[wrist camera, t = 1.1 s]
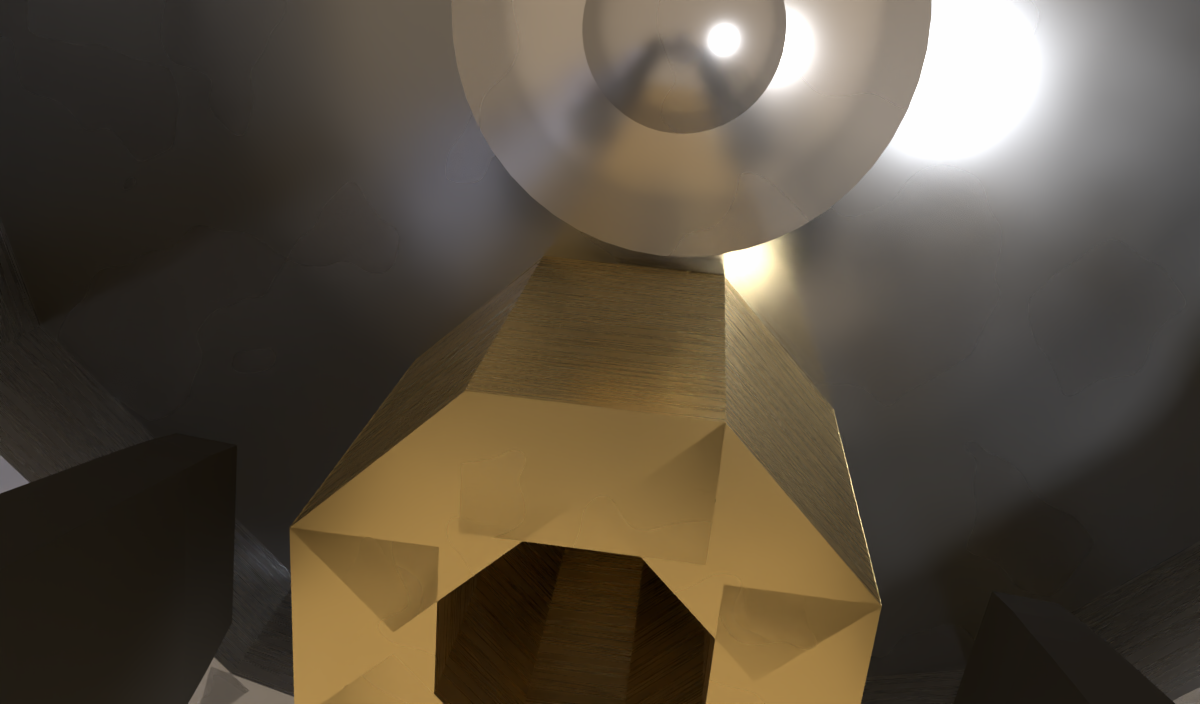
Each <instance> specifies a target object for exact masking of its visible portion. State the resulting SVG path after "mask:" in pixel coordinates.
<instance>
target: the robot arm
mask: <svg viewBox="0 0 1200 704" xmlns="http://www.w3.org/2000/svg"><path fill="white" fill-rule="evenodd" d="M236 469H237V445H235V444H230V443H225V442H220V441H214V440H209V439H204V438H199V437H194V436H189V435H183V434H178V433H175V434H171V435H167V436H163V437H159V438H155V439H152V440H148V441H145V442H142V443H139V444H136V445H133V446H130V447H127V448H124V449H121V450H118V451H115V452H113V453H110V454H107V455H104V456H101V457H99V458H96V459H93V460H90V461H88V462H85V463H82V464H80V465H77V466H74V467H71V468H69V469H66V470H63V471H61V472H58V473H55V474H52V475H50V476H47V477H44V478H41V479H39V480H36V481H33V482H30V483H28V484H25V485H22V486H19V487H17V488H14V489H11V490H9V491H6V492H3V493H0V704H188V703H189V701H190V700H191V698H192V696H193V694H194V692H195V691H196V689H197V687H198V685H199V684H200V682H201V680H202V678H203V677H204V675H205V673H206V671H207V669H208V667H209V666H210V664H211V662H212V660H213V658H214V656H215V654H216V652H217V650H218V648H219V646H220V645H221V643H222V641H223V639H224V637H225V635H226V633H227V631H228V629H229V627H230V625H231V624H232V612H233V576H234V540H235V505H236ZM953 704H1175V703H1174V702H1173V701H1172V700H1171V699H1170V698H1168V697H1167V696H1166V695H1165V694H1164V693H1163V692H1162V691H1161V690H1160V689H1158V688H1157V687H1156V686H1155V685H1154V684H1153V683H1152V682H1151V681H1150V680H1148V679H1147V678H1146V677H1145V676H1144V675H1143V674H1142V673H1141V672H1140V671H1138V670H1137V669H1136V668H1135V667H1134V666H1133V665H1132V664H1131V663H1130V662H1128V661H1127V660H1126V659H1125V658H1124V657H1123V656H1122V655H1121V654H1119V653H1118V652H1117V651H1116V650H1115V649H1114V648H1113V647H1111V646H1110V645H1109V644H1108V643H1107V642H1106V641H1105V640H1103V639H1102V638H1101V637H1100V636H1099V635H1098V634H1096V633H1095V632H1094V631H1093V630H1092V629H1091V628H1089V627H1088V626H1087V625H1086V624H1085V623H1083V622H1082V621H1081V620H1080V619H1078V618H1077V617H1076V616H1075V615H1073V614H1072V613H1071V612H1069V611H1068V610H1066V609H1065V608H1064V607H1062V606H1061V605H1060V604H1057V603H1051V602H1046V601H1041V600H1036V599H1031V598H1026V597H1020V596H1015V595H1010V594H1005V593H1000V592H995V591H992V593H991V596H990V599H989V602H988V604H987V607H986V610H985V613H984V616H983V619H982V622H981V625H980V627H979V630H978V633H977V636H976V639H975V642H974V645H973V648H972V651H971V653H970V656H969V659H968V662H967V665H966V668H965V671H964V674H963V676H962V679H961V682H960V685H959V688H958V691H957V694H956V697H955V700H954V702H953Z"/></svg>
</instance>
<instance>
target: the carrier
mask: <svg viewBox="0 0 1200 704" xmlns="http://www.w3.org/2000/svg"><path fill="white" fill-rule="evenodd" d="M543 256H551V257H560V258H569V259H578V260H587V261H596V262H605V263H614V264H623V265H632V266H641V267H650V268H659V269H668V270H677V271H686V272H695V273H704V274H713V275H722V276H725V278H726V279H727V280H728V281H729V282H730V284H731V285H732V286H733V287H734V289H735V290H736V291H737V292H738V293H739V295H740V296H741V297H742V298H743V300H744V301H745V302H746V303H747V304H748V306H749V307H750V308H751V309H752V311H753V312H754V313H755V314H756V315H757V317H758V318H759V319H760V320H761V322H762V323H763V324H764V325H765V326H766V328H767V329H768V330H769V331H770V332H771V334H772V335H773V336H774V337H775V339H776V340H777V341H778V342H779V343H780V345H781V346H782V347H783V348H784V350H785V351H786V352H787V353H788V354H789V356H790V357H791V358H792V359H793V361H794V362H795V363H796V364H797V365H798V367H799V368H800V369H801V370H802V372H803V373H804V374H805V375H806V376H807V378H808V379H809V380H810V381H811V383H812V384H813V385H814V386H815V387H816V389H817V390H818V391H819V392H820V394H821V395H822V396H823V397H824V398H825V400H826V401H827V402H828V403H829V404H830V406H831V407H832V408H833V409H834V413H835V417H836V421H837V425H838V429H839V433H840V437H841V441H842V445H843V449H844V453H845V457H846V462H847V466H848V470H849V474H850V478H851V482H852V486H853V490H854V494H855V498H856V502H857V506H858V510H859V514H860V519H861V523H862V527H863V531H864V535H865V539H866V543H867V547H868V551H869V555H870V559H871V563H872V567H873V572H874V576H875V580H876V584H877V588H878V592H879V596H880V600H881V604H882V607H881V611H880V616H879V621H878V625H877V630H876V635H875V640H874V644H873V649H872V654H871V658H870V663H869V668H868V672H867V677H866V682H865V686H864V691H863V696H862V700H861V704H953V702H954V700H955V697H956V694H957V691H958V688H959V685H960V682H961V679H962V676H963V674H964V671H965V668H966V665H967V662H968V659H969V656H970V653H971V651H972V648H973V645H974V642H975V639H976V636H977V633H978V630H979V627H980V625H981V622H982V619H983V616H984V613H985V610H986V607H987V604H988V602H989V599H990V596H991V593H992V591H995V592H1000V593H1005V594H1010V595H1015V596H1020V597H1026V598H1031V599H1036V600H1041V601H1046V602H1051V603H1057V604H1060V605H1061V606H1062V607H1064V608H1065V609H1066V610H1068V611H1069V612H1071V613H1072V614H1073V615H1075V616H1076V617H1077V618H1078V619H1080V620H1081V621H1082V622H1083V623H1085V624H1086V625H1087V626H1088V627H1089V628H1091V629H1092V630H1093V631H1094V632H1095V633H1096V634H1098V635H1099V636H1100V637H1101V638H1102V639H1103V640H1105V641H1106V642H1107V643H1108V644H1109V645H1110V646H1111V647H1113V648H1114V649H1115V650H1116V651H1117V652H1118V653H1119V654H1121V655H1122V656H1123V657H1124V658H1125V659H1126V660H1127V661H1128V662H1130V663H1131V664H1132V665H1133V666H1134V667H1135V668H1136V669H1137V670H1138V671H1140V672H1141V673H1142V674H1143V675H1144V676H1145V677H1146V678H1147V679H1148V680H1150V681H1151V682H1152V683H1153V684H1154V685H1155V686H1156V687H1157V688H1158V689H1160V690H1161V691H1162V692H1163V693H1164V694H1165V695H1166V696H1167V697H1168V698H1170V699H1171V700H1172V701H1173V702H1174V703H1175V704H1200V0H0V493H3V492H6V491H9V490H11V489H14V488H17V487H19V486H22V485H25V484H28V483H30V482H33V481H36V480H39V479H41V478H44V477H47V476H50V475H52V474H55V473H58V472H61V471H63V470H66V469H69V468H71V467H74V466H77V465H80V464H82V463H85V462H88V461H90V460H93V459H96V458H99V457H101V456H104V455H107V454H110V453H113V452H115V451H118V450H121V449H124V448H127V447H130V446H133V445H136V444H139V443H142V442H145V441H148V440H152V439H155V438H159V437H163V436H167V435H171V434H175V433H178V434H183V435H189V436H194V437H199V438H204V439H209V440H214V441H220V442H225V443H230V444H235V445H237V469H236V505H235V540H234V576H233V612H232V624H231V625H230V627H229V629H228V631H227V633H226V635H225V637H224V639H223V641H222V643H221V645H220V646H219V648H218V650H217V652H216V654H215V656H214V658H213V660H212V662H211V664H210V666H209V667H208V669H207V671H206V673H205V675H204V677H203V678H202V680H201V682H200V684H199V685H198V687H197V689H196V691H195V692H194V694H193V696H192V698H191V700H190V701H189V703H188V704H294V674H293V637H292V600H291V563H290V526H291V525H292V523H293V522H294V521H295V519H296V518H297V517H298V515H299V514H300V513H301V511H302V510H303V509H304V507H305V506H306V505H307V503H308V502H309V501H310V499H311V498H312V497H313V495H314V494H315V493H316V491H317V490H318V489H319V487H320V486H321V485H322V483H323V482H324V481H325V479H326V478H327V477H328V475H329V474H330V473H331V471H332V470H333V469H334V467H335V466H336V465H337V463H338V462H339V461H340V459H341V458H342V457H343V455H344V454H345V453H346V451H347V450H348V449H349V447H350V446H351V445H352V443H353V442H354V441H355V439H356V438H357V437H358V435H359V434H360V433H361V431H362V430H363V429H364V427H365V426H366V425H367V423H368V422H369V421H370V419H371V418H372V417H373V415H374V414H375V413H376V411H377V410H378V409H379V407H380V406H381V405H382V403H383V402H384V401H385V399H386V398H387V397H388V395H389V394H390V393H391V391H392V390H393V389H394V387H395V386H396V385H397V383H398V382H399V381H400V379H401V378H402V377H403V375H404V374H405V373H406V371H407V370H408V369H409V367H410V366H411V365H412V363H413V362H414V361H415V359H417V358H418V357H420V356H421V355H422V354H423V353H425V352H426V351H427V350H428V349H429V348H431V347H432V346H433V345H434V344H436V343H437V342H438V341H439V340H441V339H442V338H443V337H444V336H446V335H447V334H448V333H449V332H450V331H452V330H453V329H454V328H455V327H457V326H458V325H459V324H460V323H462V322H463V321H464V320H465V319H466V318H468V317H469V316H470V315H471V314H473V313H474V312H475V311H476V310H478V309H479V308H480V307H481V306H483V305H484V304H485V303H486V302H487V301H489V300H490V299H491V298H492V297H494V296H495V295H496V294H497V293H499V292H500V291H501V290H502V289H504V288H505V287H506V286H507V285H508V284H510V283H511V282H512V281H513V280H515V279H516V278H517V277H518V276H520V275H521V274H522V273H523V272H524V271H526V270H527V269H528V268H529V267H531V266H532V265H533V264H534V263H536V262H537V261H538V260H539V259H541V258H542V257H543Z"/></svg>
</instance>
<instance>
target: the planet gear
mask: <svg viewBox="0 0 1200 704" xmlns="http://www.w3.org/2000/svg"><path fill="white" fill-rule="evenodd" d="M290 563H291V600H292V637H293V674H294V704H861V700H862V696H863V691H864V686H865V682H866V677H867V672H868V668H869V663H870V658H871V654H872V649H873V644H874V640H875V635H876V630H877V625H878V621H879V616H880V611H881V607H882V604H881V600H880V596H879V592H878V588H877V584H876V580H875V576H874V572H873V567H872V563H871V559H870V555H869V551H868V547H867V543H866V539H865V535H864V531H863V527H862V523H861V519H860V514H859V510H858V506H857V502H856V498H855V494H854V490H853V486H852V482H851V478H850V474H849V470H848V466H847V462H846V457H845V453H844V449H843V445H842V441H841V437H840V433H839V429H838V425H837V421H836V417H835V413H834V409H833V408H832V407H831V406H830V404H829V403H828V402H827V401H826V400H825V398H824V397H823V396H822V395H821V394H820V392H819V391H818V390H817V389H816V387H815V386H814V385H813V384H812V383H811V381H810V380H809V379H808V378H807V376H806V375H805V374H804V373H803V372H802V370H801V369H800V368H799V367H798V365H797V364H796V363H795V362H794V361H793V359H792V358H791V357H790V356H789V354H788V353H787V352H786V351H785V350H784V348H783V347H782V346H781V345H780V343H779V342H778V341H777V340H776V339H775V337H774V336H773V335H772V334H771V332H770V331H769V330H768V329H767V328H766V326H765V325H764V324H763V323H762V322H761V320H760V319H759V318H758V317H757V315H756V314H755V313H754V312H753V311H752V309H751V308H750V307H749V306H748V304H747V303H746V302H745V301H744V300H743V298H742V297H741V296H740V295H739V293H738V292H737V291H736V290H735V289H734V287H733V286H732V285H731V284H730V282H729V281H728V280H727V279H726V278H725V276H722V275H713V274H704V273H695V272H686V271H677V270H668V269H659V268H650V267H641V266H632V265H623V264H614V263H605V262H596V261H587V260H578V259H569V258H560V257H551V256H543V257H542V258H541V259H539V260H538V261H537V262H536V263H534V264H533V265H532V266H531V267H529V268H528V269H527V270H526V271H524V272H523V273H522V274H521V275H520V276H518V277H517V278H516V279H515V280H513V281H512V282H511V283H510V284H508V285H507V286H506V287H505V288H504V289H502V290H501V291H500V292H499V293H497V294H496V295H495V296H494V297H492V298H491V299H490V300H489V301H487V302H486V303H485V304H484V305H483V306H481V307H480V308H479V309H478V310H476V311H475V312H474V313H473V314H471V315H470V316H469V317H468V318H466V319H465V320H464V321H463V322H462V323H460V324H459V325H458V326H457V327H455V328H454V329H453V330H452V331H450V332H449V333H448V334H447V335H446V336H444V337H443V338H442V339H441V340H439V341H438V342H437V343H436V344H434V345H433V346H432V347H431V348H429V349H428V350H427V351H426V352H425V353H423V354H422V355H421V356H420V357H418V358H417V359H415V361H414V362H413V363H412V365H411V366H410V367H409V369H408V370H407V371H406V373H405V374H404V375H403V377H402V378H401V379H400V381H399V382H398V383H397V385H396V386H395V387H394V389H393V390H392V391H391V393H390V394H389V395H388V397H387V398H386V399H385V401H384V402H383V403H382V405H381V406H380V407H379V409H378V410H377V411H376V413H375V414H374V415H373V417H372V418H371V419H370V421H369V422H368V423H367V425H366V426H365V427H364V429H363V430H362V431H361V433H360V434H359V435H358V437H357V438H356V439H355V441H354V442H353V443H352V445H351V446H350V447H349V449H348V450H347V451H346V453H345V454H344V455H343V457H342V458H341V459H340V461H339V462H338V463H337V465H336V466H335V467H334V469H333V470H332V471H331V473H330V474H329V475H328V477H327V478H326V479H325V481H324V482H323V483H322V485H321V486H320V487H319V489H318V490H317V491H316V493H315V494H314V495H313V497H312V498H311V499H310V501H309V502H308V503H307V505H306V506H305V507H304V509H303V510H302V511H301V513H300V514H299V515H298V517H297V518H296V519H295V521H294V522H293V523H292V525H291V526H290Z"/></svg>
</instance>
